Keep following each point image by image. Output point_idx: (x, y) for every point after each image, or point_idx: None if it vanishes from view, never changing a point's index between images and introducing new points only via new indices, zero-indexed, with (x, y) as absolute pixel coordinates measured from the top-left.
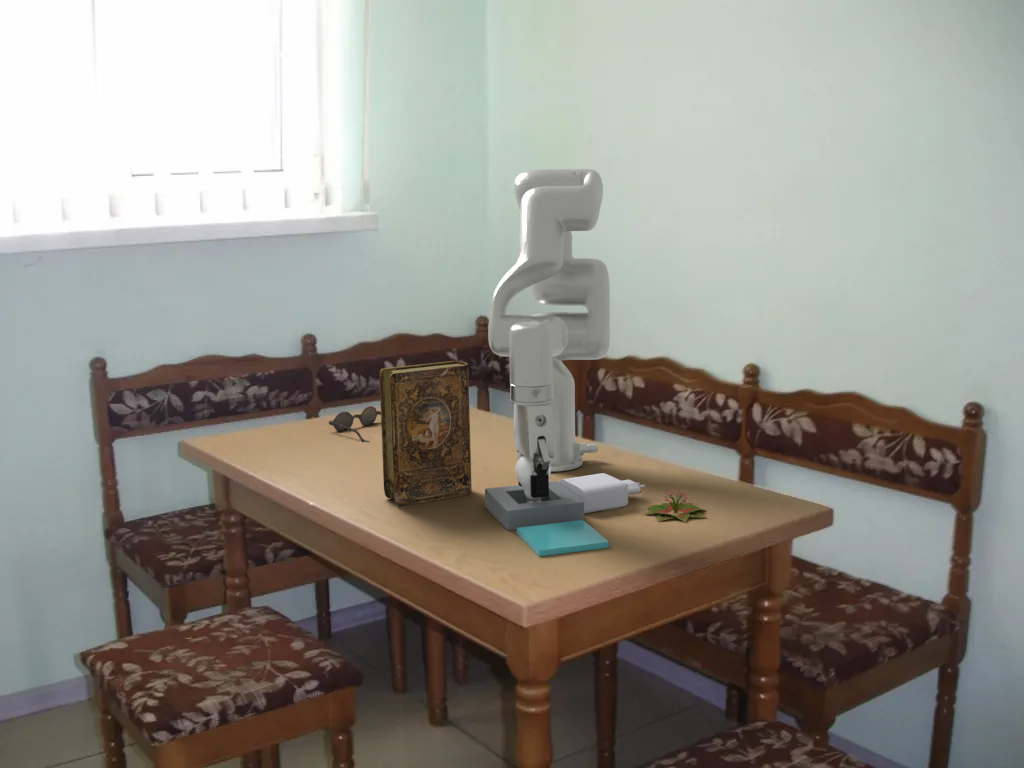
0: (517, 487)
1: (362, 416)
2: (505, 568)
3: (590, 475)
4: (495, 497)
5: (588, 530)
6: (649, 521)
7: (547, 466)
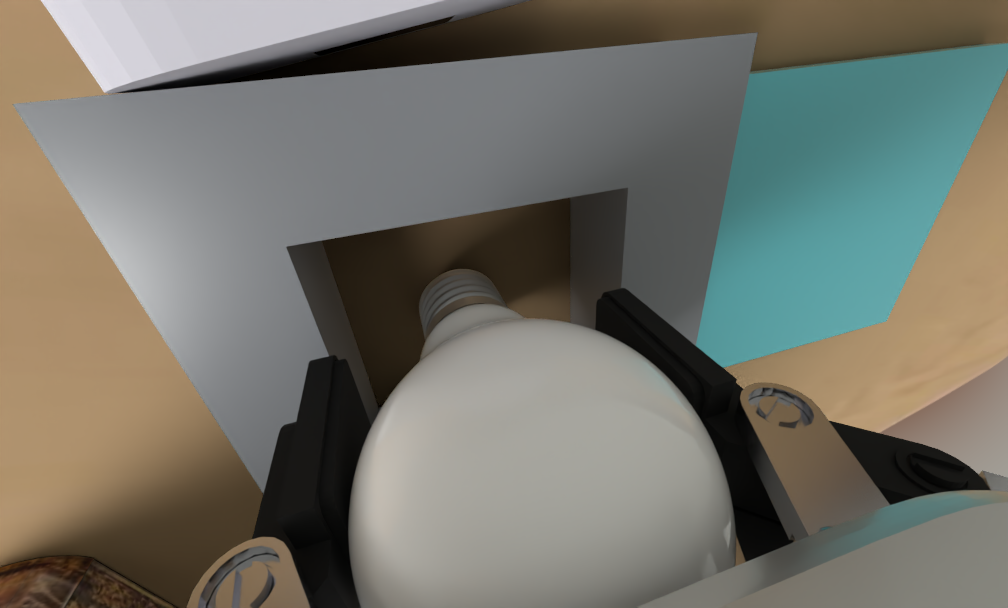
0: None
1: None
2: (865, 388)
3: None
4: None
5: (869, 95)
6: None
7: (991, 481)
